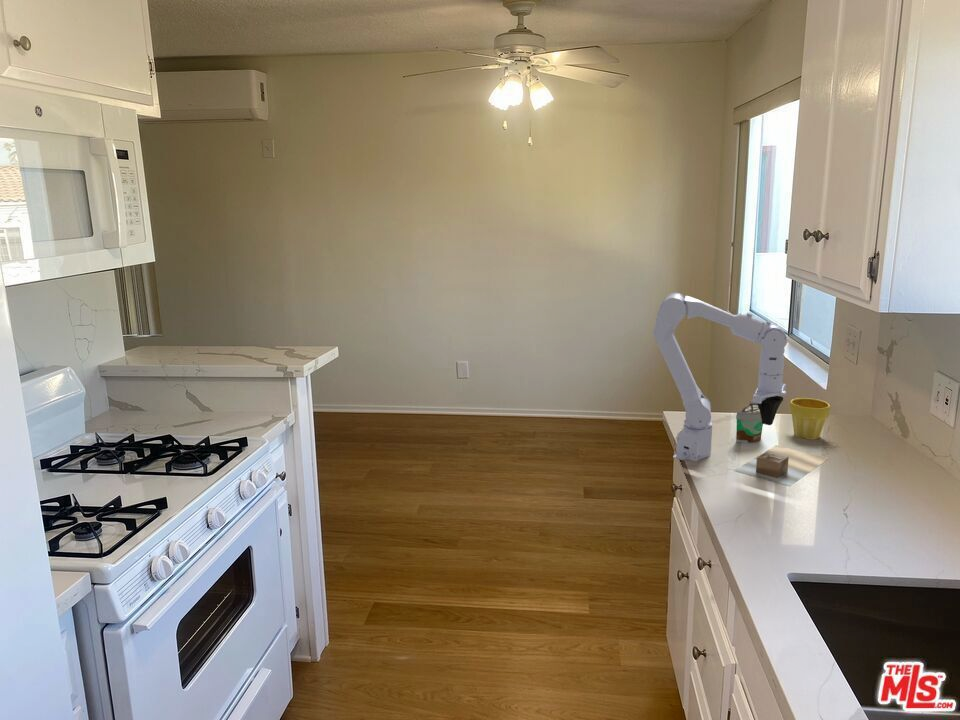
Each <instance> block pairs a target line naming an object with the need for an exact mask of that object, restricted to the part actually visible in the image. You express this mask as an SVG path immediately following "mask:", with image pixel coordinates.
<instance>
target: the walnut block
mask: <svg viewBox="0 0 960 720" xmlns="http://www.w3.org/2000/svg"><path fill="white" fill-rule="evenodd" d="M764 452H765V453H764ZM764 452H763V454H762V453H761V454H762V455H761V454H759V455H760V456H759V455H758V457H757V456H756V457H757V463H756V473H759V474H763V475H767V476H770V477H774V478H779V477H781V476H782V475H784V474H785V473H787V472H788V460H789V457H788V456H784V455H780V454H776V453H772V452H766V451H764Z"/></svg>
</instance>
